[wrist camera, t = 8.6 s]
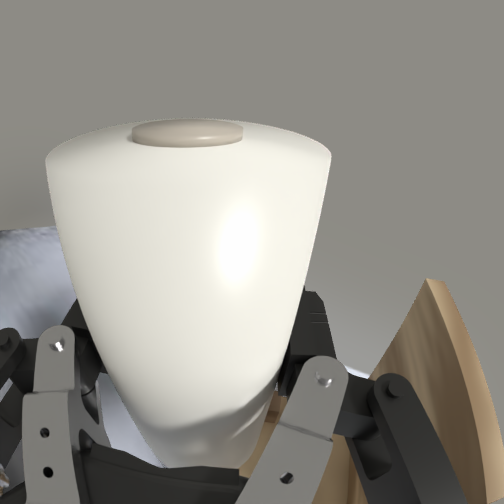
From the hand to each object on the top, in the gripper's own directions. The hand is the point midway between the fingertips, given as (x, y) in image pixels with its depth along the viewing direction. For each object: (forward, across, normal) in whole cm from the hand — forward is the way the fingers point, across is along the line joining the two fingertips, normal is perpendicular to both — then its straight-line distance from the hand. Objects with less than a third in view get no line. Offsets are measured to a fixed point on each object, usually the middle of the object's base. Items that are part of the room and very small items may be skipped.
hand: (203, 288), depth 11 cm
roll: (-3, 0, +7) cm, 7 cm away
